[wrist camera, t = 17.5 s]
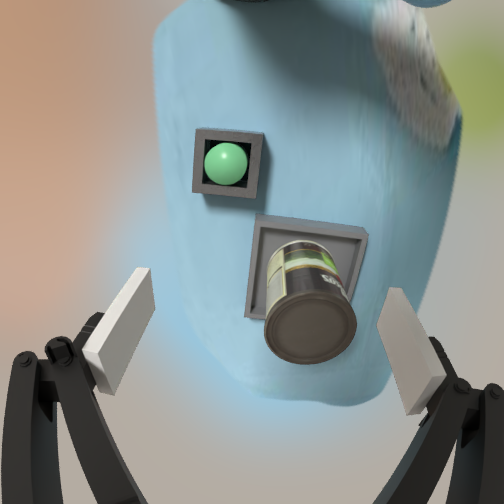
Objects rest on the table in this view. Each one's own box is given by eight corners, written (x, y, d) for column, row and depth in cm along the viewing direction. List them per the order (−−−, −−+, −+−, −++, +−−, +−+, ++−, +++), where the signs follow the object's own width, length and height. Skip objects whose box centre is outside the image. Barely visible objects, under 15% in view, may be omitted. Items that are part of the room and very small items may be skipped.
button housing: (202, 127, 38) (195, 128, 35) (263, 132, 38) (263, 134, 35) (198, 185, 42) (191, 192, 38) (256, 191, 42) (255, 198, 38)
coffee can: (313, 225, 43) (331, 275, 30) (346, 279, 46) (370, 339, 33) (251, 262, 46) (245, 322, 33) (289, 311, 49) (294, 376, 36)
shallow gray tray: (255, 213, 43) (255, 220, 41) (363, 227, 43) (368, 234, 41) (245, 306, 50) (244, 317, 47) (339, 315, 50) (342, 325, 47)
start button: (211, 139, 38) (206, 142, 35) (250, 142, 38) (248, 145, 35) (209, 176, 41) (203, 183, 37) (246, 180, 41) (244, 186, 37)
